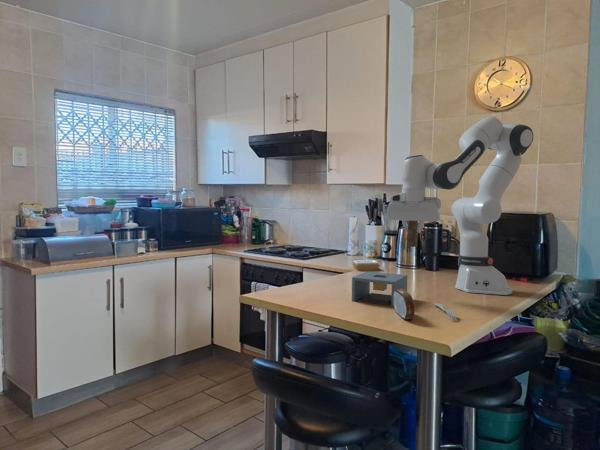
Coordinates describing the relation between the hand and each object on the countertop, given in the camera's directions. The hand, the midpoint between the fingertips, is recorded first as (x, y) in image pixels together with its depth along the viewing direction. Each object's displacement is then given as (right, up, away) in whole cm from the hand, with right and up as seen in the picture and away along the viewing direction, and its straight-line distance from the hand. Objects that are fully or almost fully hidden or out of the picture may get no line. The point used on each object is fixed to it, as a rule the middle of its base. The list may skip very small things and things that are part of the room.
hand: (412, 232), depth 175 cm
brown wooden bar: (0, -5, 0) cm, 5 cm away
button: (-14, -21, -7) cm, 26 cm away
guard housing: (-14, -25, -7) cm, 30 cm away
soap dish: (-9, -21, +61) cm, 65 cm away
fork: (+4, -28, -25) cm, 37 cm away
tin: (-11, -27, -29) cm, 41 cm away
